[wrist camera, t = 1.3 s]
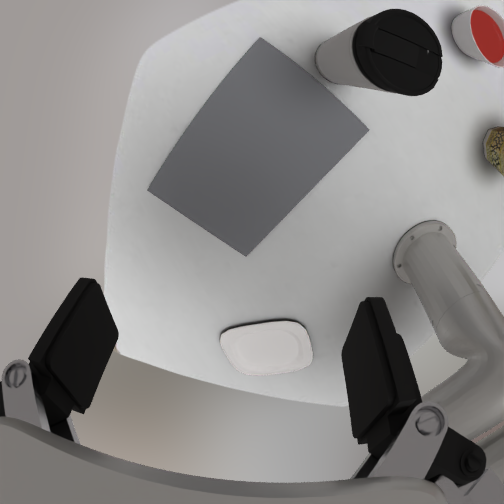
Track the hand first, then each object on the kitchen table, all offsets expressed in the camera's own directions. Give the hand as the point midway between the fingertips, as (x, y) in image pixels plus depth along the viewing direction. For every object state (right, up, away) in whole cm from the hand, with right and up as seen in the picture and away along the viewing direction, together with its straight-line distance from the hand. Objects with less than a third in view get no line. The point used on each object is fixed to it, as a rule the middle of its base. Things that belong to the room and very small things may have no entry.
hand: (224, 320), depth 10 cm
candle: (+32, +33, +13) cm, 48 cm away
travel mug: (+11, +26, +19) cm, 34 cm away
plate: (+4, -17, +49) cm, 53 cm away
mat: (+1, +15, +27) cm, 31 cm away
